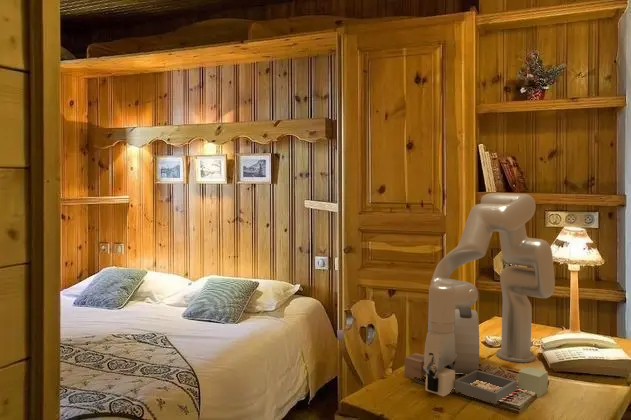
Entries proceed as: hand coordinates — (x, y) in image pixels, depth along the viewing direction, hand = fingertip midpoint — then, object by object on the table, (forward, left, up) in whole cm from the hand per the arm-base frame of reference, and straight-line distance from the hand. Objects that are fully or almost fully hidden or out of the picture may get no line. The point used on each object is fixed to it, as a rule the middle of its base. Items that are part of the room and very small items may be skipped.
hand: (440, 386), depth 154 cm
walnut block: (-5, -11, -1) cm, 12 cm away
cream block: (0, 0, -1) cm, 1 cm away
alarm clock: (-22, -5, -1) cm, 23 cm away
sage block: (-19, +19, -1) cm, 27 cm away
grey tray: (-8, +10, -1) cm, 13 cm away
